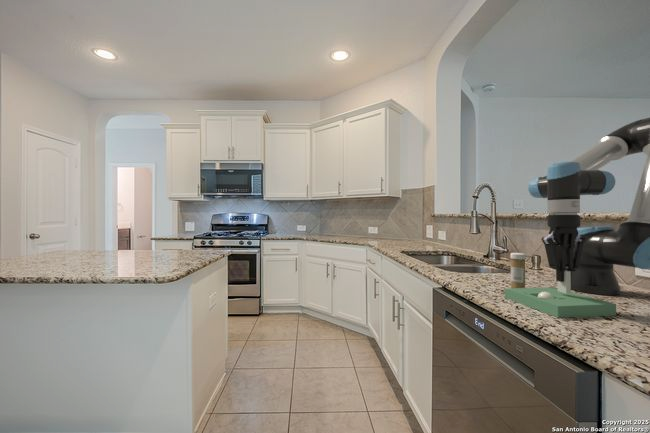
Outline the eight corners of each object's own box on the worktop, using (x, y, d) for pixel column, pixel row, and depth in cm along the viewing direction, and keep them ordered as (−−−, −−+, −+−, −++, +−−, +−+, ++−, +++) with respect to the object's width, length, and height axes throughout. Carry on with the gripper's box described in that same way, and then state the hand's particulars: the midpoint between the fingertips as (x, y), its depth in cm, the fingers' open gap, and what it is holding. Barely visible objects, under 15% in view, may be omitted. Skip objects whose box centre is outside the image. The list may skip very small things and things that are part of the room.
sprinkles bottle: (527, 290, 99) (527, 253, 99) (522, 292, 97) (522, 254, 97) (513, 288, 103) (513, 252, 103) (507, 289, 100) (508, 253, 101)
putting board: (553, 296, 93) (553, 287, 93) (616, 315, 75) (616, 304, 75) (504, 297, 90) (504, 288, 90) (557, 317, 73) (557, 306, 73)
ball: (532, 301, 84) (543, 304, 84) (544, 305, 80) (556, 308, 80) (535, 288, 84) (546, 291, 84) (547, 292, 80) (559, 295, 80)
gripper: (556, 214, 78) (556, 296, 78) (595, 213, 80) (596, 294, 80) (533, 214, 86) (533, 289, 86) (569, 214, 88) (570, 288, 88)
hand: (564, 292), depth 83 cm, fingers closed
